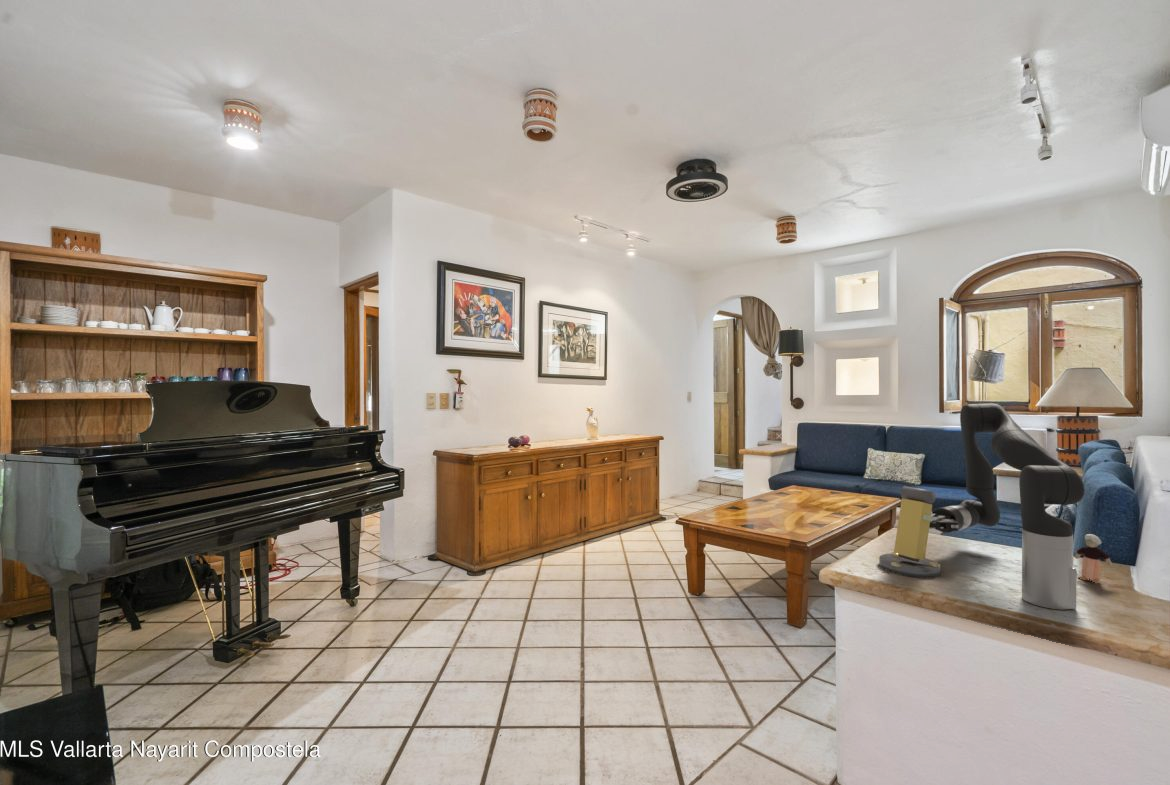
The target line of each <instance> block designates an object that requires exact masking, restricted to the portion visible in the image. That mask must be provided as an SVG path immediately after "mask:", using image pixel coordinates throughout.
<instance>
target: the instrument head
mask: <svg viewBox="0 0 1170 785" xmlns="http://www.w3.org/2000/svg"><path fill="white" fill-rule="evenodd" d="M900 497H901V499H900V500H901V501H900V509H899V516H898V522H897V528H896V529H897V530H896V536H895V541H894V550H893V552H894V553H896V554H899V557H901V558H905V559H908V560H912V561H916V562H919V560H920V559H921V560H925V558H926V553H927V548H928V547H927V546H928V540H929V539H928V538H929V533H930V529H929V526H930V521H932V519H933V516H931V513H932V512H933V504H934V503H935V501H936V498H937V494H936V492H935V491H934V490H930V489H925V488H918V487H910V486H906V485H904V486H902V487H901V489H900Z"/></svg>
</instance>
